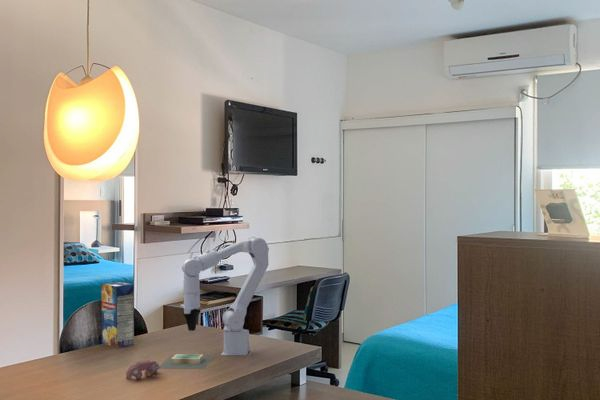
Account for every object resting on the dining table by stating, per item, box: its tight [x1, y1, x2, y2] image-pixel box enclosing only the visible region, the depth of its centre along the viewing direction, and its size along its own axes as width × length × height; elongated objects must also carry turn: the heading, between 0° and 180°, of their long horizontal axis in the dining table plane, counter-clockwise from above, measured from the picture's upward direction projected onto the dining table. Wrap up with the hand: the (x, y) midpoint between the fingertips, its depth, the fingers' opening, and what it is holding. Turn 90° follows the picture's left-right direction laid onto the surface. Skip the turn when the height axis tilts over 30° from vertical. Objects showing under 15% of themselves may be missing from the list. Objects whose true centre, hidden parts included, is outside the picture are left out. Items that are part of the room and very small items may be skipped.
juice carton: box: [100, 281, 135, 349], centre depth 230 cm, size 12×8×24 cm, turn 47°
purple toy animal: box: [125, 359, 160, 380], centre depth 184 cm, size 10×5×7 cm, turn 123°
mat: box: [158, 354, 216, 370], centre depth 201 cm, size 16×18×1 cm
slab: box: [171, 353, 204, 364], centre depth 201 cm, size 10×2×6 cm
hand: (191, 330), depth 208 cm, fingers closed
